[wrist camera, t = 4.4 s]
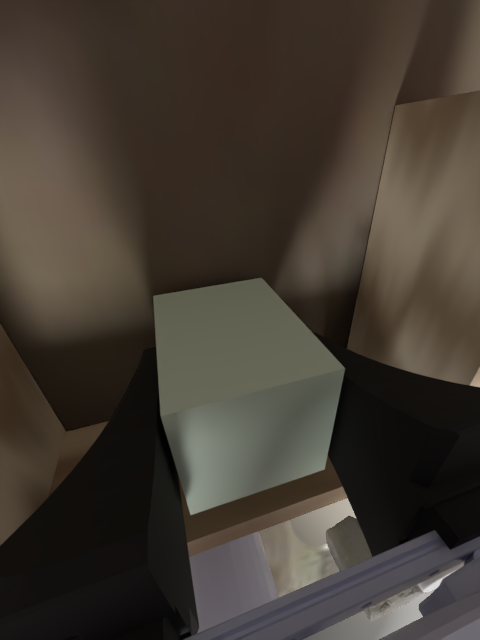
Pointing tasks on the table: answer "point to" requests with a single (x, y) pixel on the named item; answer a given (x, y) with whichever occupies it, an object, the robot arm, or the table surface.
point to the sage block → (241, 391)
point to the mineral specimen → (354, 549)
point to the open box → (365, 335)
